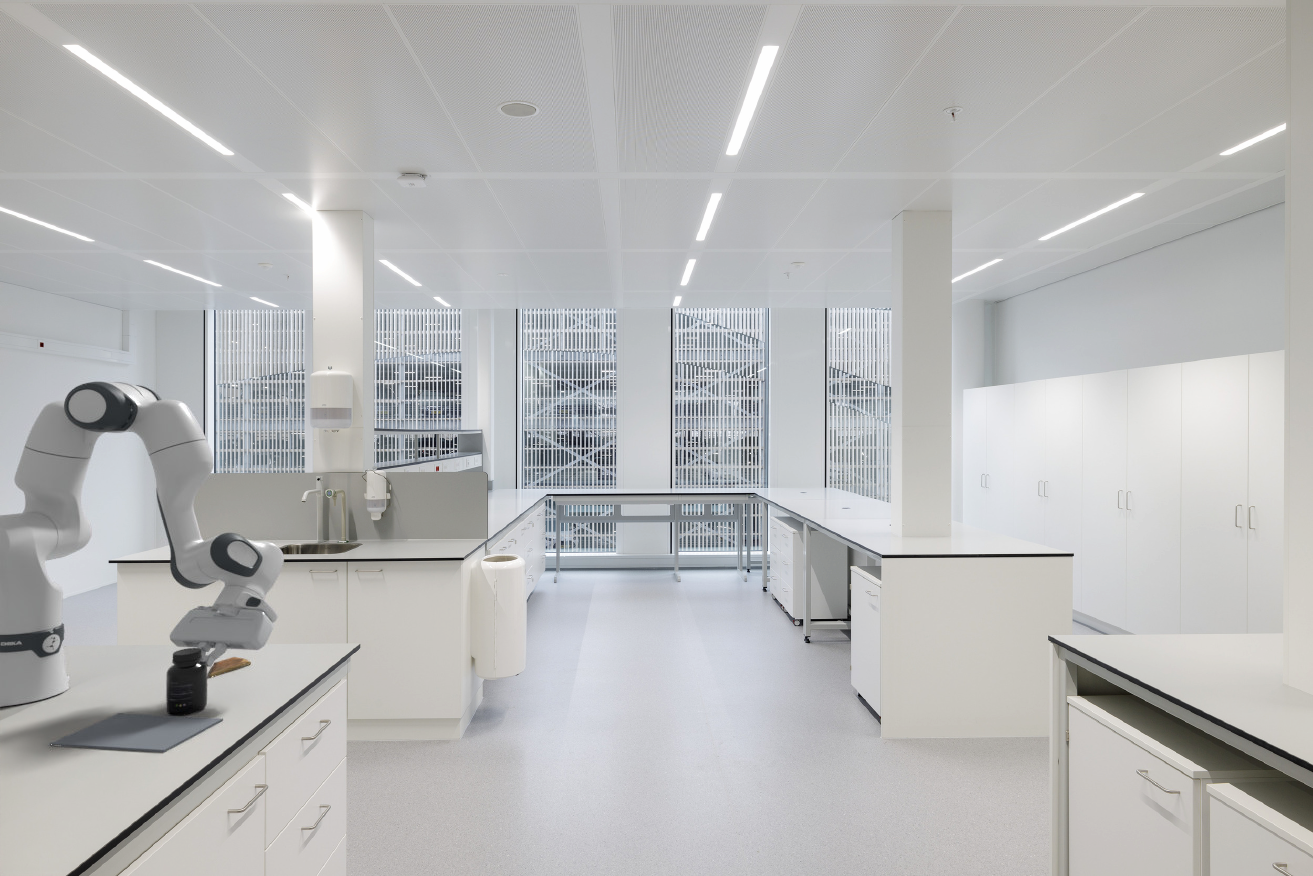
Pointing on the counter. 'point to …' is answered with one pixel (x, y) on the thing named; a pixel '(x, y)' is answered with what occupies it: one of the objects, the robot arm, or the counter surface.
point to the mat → (138, 732)
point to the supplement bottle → (186, 683)
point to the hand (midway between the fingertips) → (201, 665)
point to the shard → (228, 665)
